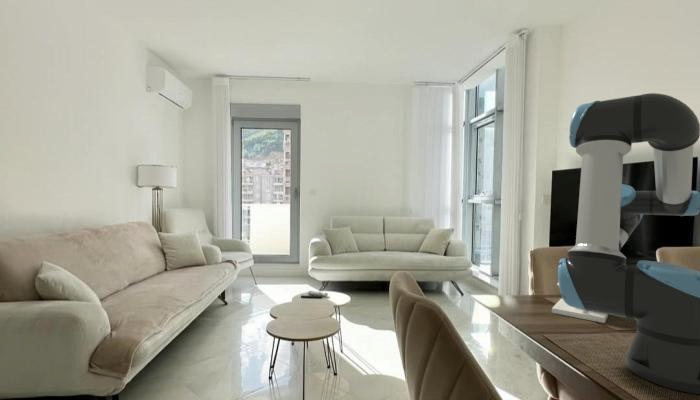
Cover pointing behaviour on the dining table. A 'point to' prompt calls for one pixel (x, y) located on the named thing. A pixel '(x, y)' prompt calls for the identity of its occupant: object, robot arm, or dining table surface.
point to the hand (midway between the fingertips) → (574, 291)
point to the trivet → (578, 312)
